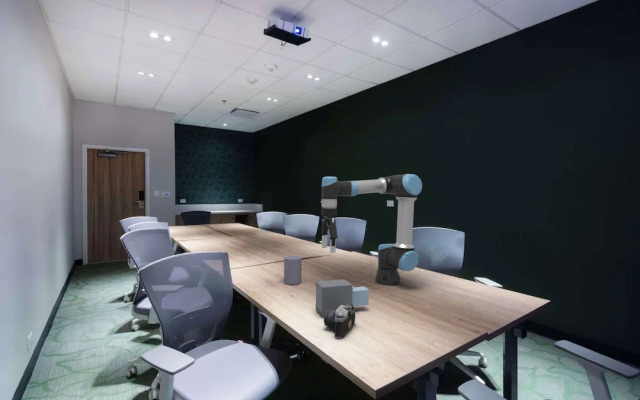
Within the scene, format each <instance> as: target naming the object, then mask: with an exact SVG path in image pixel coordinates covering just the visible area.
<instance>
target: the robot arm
mask: <svg viewBox="0 0 640 400" xmlns="http://www.w3.org/2000/svg"><path fill="white" fill-rule="evenodd" d="M422 189H423V183H422V180H421V178H419V176H418V175H416V174H413V173H412V174H411V173H406V174H394V175H390V176H385V177H384V176H383V177H378V179H366V180H365V179H364V180H362V179H361V180H345V181H344V180H343V181H339V180H338V177H336V176H324V177H322V181H321V201H320V203H321V213H320V214H321V216H322V221H321V230H320V234H321V235H322V236H321V249H328V235H329V253H330V254H335V253H336V252H337V251H336V250H337V249H336V248H337V246H336V245H337V239H338V231H337V229H338V228H337V223H336V222H337V220H336V218H334V217H337V214H338V212H337V207H338V205H337V204H338V200H337V199H338V197H355V196H357V195H362V194H374V193H379V194H381V195H382V194H383V195H385V194H387V195H388V194H389V195H395V199H396V200H397V218H396V219H397V221H396V223H397V224H396V240H395V241H396V242H395V243H382V244H379V245H378V249H377V255H378V256H377V269H376V270H377V271H376V273H375V276H374V282H375V283H377V284H379V285H384V286H396V285H400V284H401V277H400V274H399V271H398V269H399V270H400V271H404V272H411V271H413V270H415V268H416V267H417V266H418V264H419V260H420V258H419V255H418V253H417V252H416V251H415V246H414V245H413V232H414V231H413V230H414V228H413V227H414V213H415V212H414V210H415V209H414V207H415V201H416V200H417V199H418V195H420V194H421V192H422ZM328 231H329V232H328Z"/></svg>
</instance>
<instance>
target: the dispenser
mask: <svg viewBox="0 0 640 400" xmlns="http://www.w3.org/2000/svg"><path fill="white" fill-rule="evenodd" d="M353 287H354V286H353V284H352V283H351V282H349V281H348V280H346V279H331V280H320V281H315V311H316V313H317V314H318V316H320V318H321V319H324V316H325V313H326V311H327V310H337V309H338V307H339V306H341V305H344V306H345V305H346V304H352V291H353Z"/></svg>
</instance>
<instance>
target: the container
mask: <svg viewBox="0 0 640 400" xmlns="http://www.w3.org/2000/svg"><path fill="white" fill-rule="evenodd" d="M283 259H284V260H283V263H284V264H283V266H284V267H283V268H284V269H283V284H285V285H288V286H296V285H300V284H302V271H303V270H302V268H303V265H302V264H303V263H302V259H303V257H302V256H300V255H299V256H298V255H287V256H284V258H283Z"/></svg>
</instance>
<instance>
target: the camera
mask: <svg viewBox="0 0 640 400" xmlns="http://www.w3.org/2000/svg"><path fill="white" fill-rule="evenodd" d="M323 323H324V324H323V325H324V326H325V327H328V328H330V329H334V338H336V339H339V340H342V339H343V338H344V337H346V335H347V334H348V332H350V330H351V329H352V328H353V327H354V326H355V324H356V306H353V305H352V304H346V305H345V306H344V305H341V306H339V307H338V309H337V310H327V311H326V313H325V316H324V318H323Z"/></svg>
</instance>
